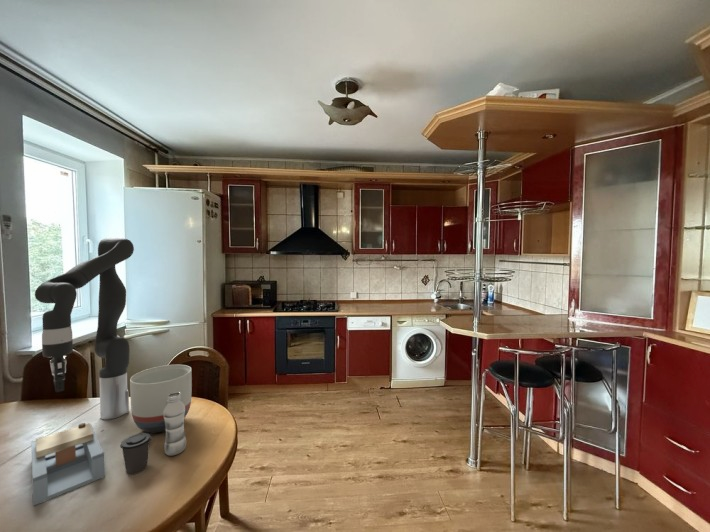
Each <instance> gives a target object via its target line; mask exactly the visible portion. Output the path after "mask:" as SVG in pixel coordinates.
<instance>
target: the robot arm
mask: <svg viewBox="0 0 710 532" xmlns="http://www.w3.org/2000/svg"><path fill="white" fill-rule="evenodd" d="M134 251H135V248H134V244H133V242H132V241H131V240H129V239H128V238H123V237H122V238H120V237H119V238H118V237H105V238H102V239H101V240H100V241H99V243H98V245H97V256H95V257H93V258H91V259H88V260H85V261H81V262H80V263H79V264H76V265H75V266H73V267H72V268H71V269H69V270H68V271H66V272H65V273H62V274H60V275H57V276H55V277H53V278H50V279H48V280H47V281H44V282H42V283H41V284H40V285H39V286H37V288H36V289H35V292H34V298H35V299H36V300H37V302H40V303H43V304H54V305H53V307H52V308H53V309H52V310H48V311H45V312H44V313H42V320H41V321H42V334H41V346H42V347H41V350H42V351H41V353H42V357H43V358H52V359H51V360H49V365H50V370H51V375H52V376H53V386H54V390H55V392H56V393H60V392H63V391H65V380H66V373H67V363H68V362H67V358H66V357H64V356H66V355H69V354H71V353H72V352H73V351H74V349H73V347H74V346H73V329H72V313H73V308H74V306H75V303H76V299H77V289H82V288H83V287H84V286H86V285H87V284H89V283H90V282H91V281H92V280H94V279H95V278H96V277H98V276H99V288H98V289H99V291H98V313H97V314H98V315H97V329H96V336H95V342H94V353H95V355H96V356H97V357H99V358H102V359H105V360H104V361H105V366H104V367H102V368H100V370H99V373H98V376H99V411H100V412H99V414H100V415H99V416H100V419H101V420H113V419H116V418H119V417H122V416H124V415H126V414H128V413H130V396H129V395H130V394H129V392H130V390H129V389H128V367H129V364H130V343H129V341H128V339H127V338H125V337H122V336H121V337H120V336H118V333H117V332H118V331H117V330H118V322H119V320H120V318H121V316H122V314H123V312H124V310H125V309H126V305H127V289H126V286H125V284H124V282H123V281H122V279H121V278H120V277H119V275H118V272H117V270H116V265H118V264H120V263H122V262H124V261H126V260H128V259H129V258H131V256H132V255H133V254H134Z"/></svg>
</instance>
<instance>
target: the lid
mask: <svg viewBox="0 0 710 532" xmlns="http://www.w3.org/2000/svg"><path fill="white" fill-rule="evenodd" d="M90 424H91V423H85V422H83V423H80V424H78V426H76V427H72V428H69V429H66V430H63V431H60V432H56V433H51V434H50V435H46V436H42V437H39V438H36V439H35V441H36V454H37V458H40V457H43V456H46V455H49V454H52V453H55V452H58V451H61V450H64V449H67V448H70V447H73V446H76V445H79V444H82V443H85V442H88V441H91V440H94V438H93V431H92V429H91V426H90Z"/></svg>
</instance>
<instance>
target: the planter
mask: <svg viewBox="0 0 710 532" xmlns="http://www.w3.org/2000/svg"><path fill="white" fill-rule="evenodd" d="M192 376H193V375H192V367H191V366H189V365H186V364H166V365H160V366H155V367H151V368H147V369H143V370H142V371H139V372H137V373H135V374H133V375H132V376H131V377H130V379H129V392H130V394H129V395H130V396H129V398H130V408H131V409H130V410H131V415H132V420H133V422H134V424H135V425H136V427H137V428H139V429H140V430H142V431H144V432H145V433H154V434H157V433H162V432H163V433H164V432H166V428H165V420H164V416H163V412H164V409H165V407H166V406H167V404H168V403H169V402H168V395H169V394H172V393H176V392H179V393H180V397H181V399H180V401H181V402H182V403H183V404H184V406H185V415H184V419H185V418H186V416H187V415H188V413H189V411H190V408H191V403H192V387H193V383H192V380H193V377H192Z"/></svg>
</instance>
